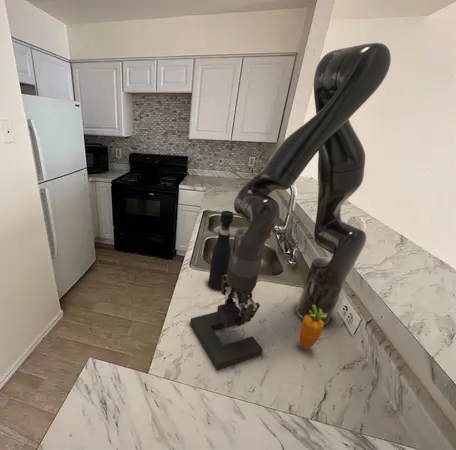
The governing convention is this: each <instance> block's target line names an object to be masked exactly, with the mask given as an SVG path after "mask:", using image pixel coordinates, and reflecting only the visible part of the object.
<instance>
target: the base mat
mask: <svg viewBox="0 0 456 450" xmlns="http://www.w3.org/2000/svg"><path fill="white" fill-rule="evenodd" d="M189 323H190V324H189V325H190V326H191V328H192V330H193V332H194V333H195V335H196V337H197V338H198V340H199V342H200V343H201V345H202V347H203V349H204V350H205V353H206V354H207V356H208V357H209V359H210V360H211V363H212V364H213V366H214V368H215V369H216V371H219V370H222V369H225V368H228V367H230V366H233V365H236V364H239V363H242V362H246V361H248V360H250V359H254V358H257V357H260V356H262V354H263V351H264V349H263V347H262V346H261V345H260V343H259V342H258V341H257V340H256V338H255V337H254V336H253V335H251V336H247V337H244V338H241V339H239V340H235V341H231V342H229V343H226V344H223V342H222V340H221V339H220V338H219V336H218V334H217V333H216V331H217V330H220V329H225V328H226V327H225V326H224V324H223V323H222V322H221V320H220V319H219V318H218V316H217V311H214V312H210V313H206V314H202V315H199V316H195V317H191V318H190V322H189Z"/></svg>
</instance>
